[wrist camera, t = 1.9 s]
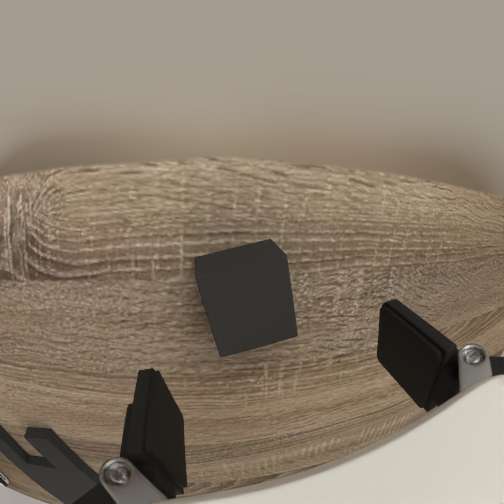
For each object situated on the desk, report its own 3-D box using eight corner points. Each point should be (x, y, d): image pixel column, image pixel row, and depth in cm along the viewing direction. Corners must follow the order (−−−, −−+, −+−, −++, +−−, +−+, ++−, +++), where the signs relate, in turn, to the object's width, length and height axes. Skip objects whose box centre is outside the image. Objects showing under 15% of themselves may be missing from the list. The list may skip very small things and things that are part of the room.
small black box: (194, 257, 16) (195, 277, 13) (270, 238, 17) (286, 254, 14) (215, 328, 18) (220, 357, 15) (282, 311, 18) (298, 336, 16)
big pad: (-17, 421, 16) (-21, 429, 15) (51, 428, 18) (47, 439, 17) (77, 504, 24) (76, 511, 22) (145, 510, 25) (145, 517, 24)
